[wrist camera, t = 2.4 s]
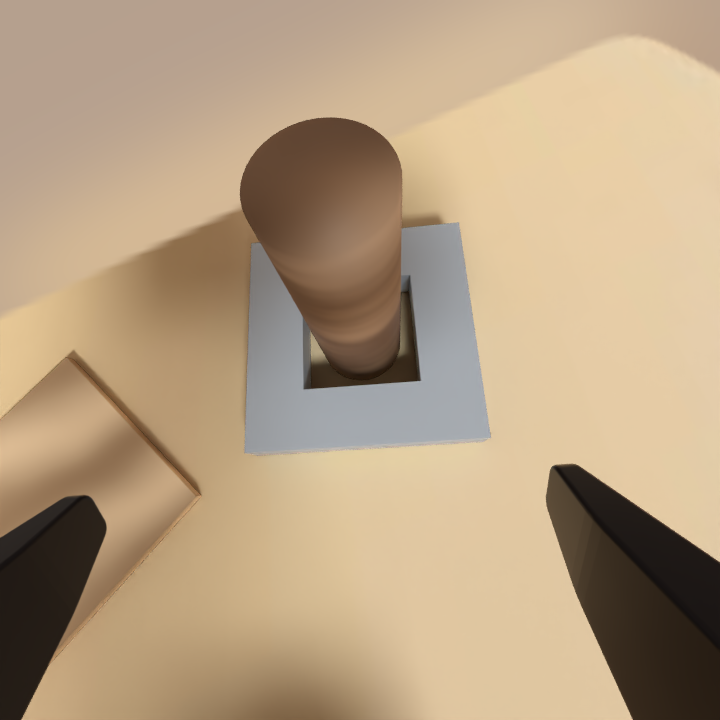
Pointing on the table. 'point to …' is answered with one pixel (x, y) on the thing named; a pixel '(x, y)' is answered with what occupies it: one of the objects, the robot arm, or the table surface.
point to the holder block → (378, 401)
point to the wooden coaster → (88, 477)
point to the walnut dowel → (334, 235)
